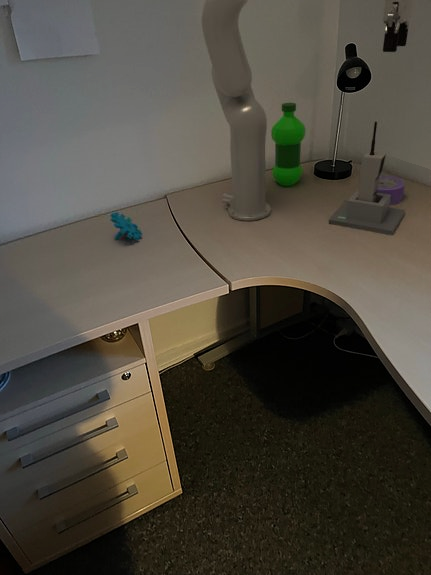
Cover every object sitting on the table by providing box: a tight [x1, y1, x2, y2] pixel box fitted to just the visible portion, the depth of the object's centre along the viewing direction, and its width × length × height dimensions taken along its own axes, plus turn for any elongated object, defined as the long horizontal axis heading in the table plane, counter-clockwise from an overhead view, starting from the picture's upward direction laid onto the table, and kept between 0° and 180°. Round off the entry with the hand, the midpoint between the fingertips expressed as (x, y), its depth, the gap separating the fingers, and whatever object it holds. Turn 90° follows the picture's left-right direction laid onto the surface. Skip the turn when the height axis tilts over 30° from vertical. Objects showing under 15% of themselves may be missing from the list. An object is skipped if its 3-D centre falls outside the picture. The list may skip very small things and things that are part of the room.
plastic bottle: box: [270, 102, 306, 187], centre depth 147 cm, size 10×10×25 cm
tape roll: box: [377, 174, 405, 206], centre depth 139 cm, size 12×12×5 cm
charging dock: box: [328, 189, 406, 236], centre depth 127 cm, size 17×14×6 cm
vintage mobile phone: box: [357, 121, 387, 203], centre depth 121 cm, size 4×5×25 cm
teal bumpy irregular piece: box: [109, 211, 143, 241], centre depth 128 cm, size 11×6×10 cm
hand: (394, 48), depth 118 cm, fingers open, 9 cm apart
